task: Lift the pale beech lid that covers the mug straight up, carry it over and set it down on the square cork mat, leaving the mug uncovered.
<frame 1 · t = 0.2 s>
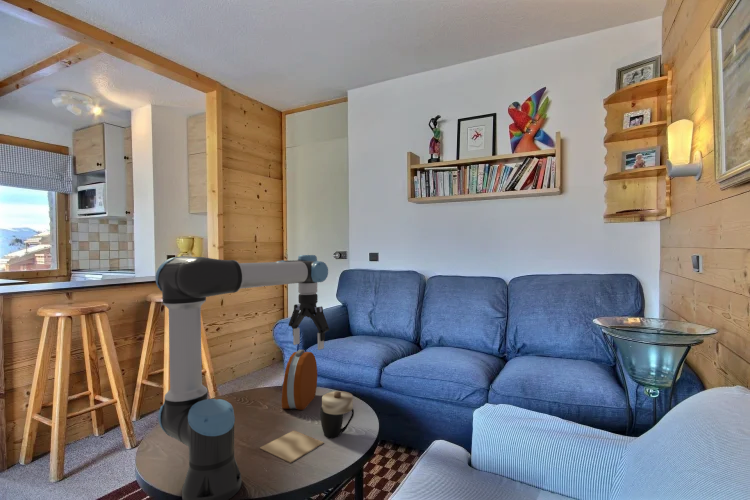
hand: (308, 346, 153), 28 cm above the table, fingers open, 13 cm apart
mug: (337, 434, 138), on the table, touching lid
alarm clock: (298, 402, 167), on the table
lid: (337, 407, 138), point 9 cm above the table, touching mug
mat: (292, 446, 130), on the table
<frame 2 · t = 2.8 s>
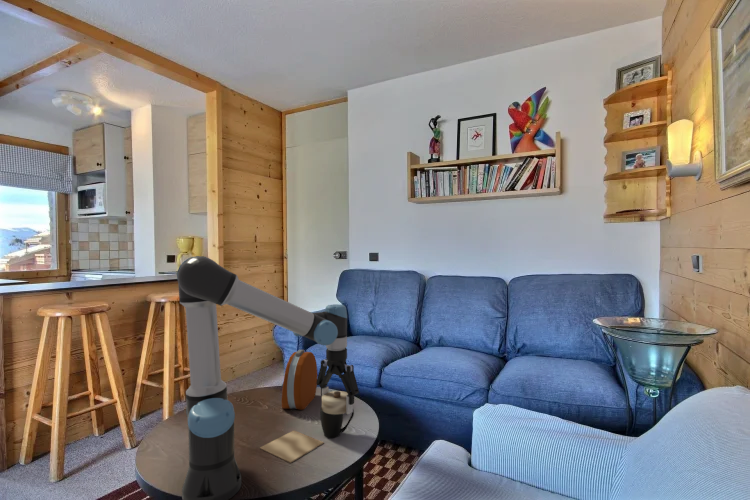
hand: (337, 409, 138), 9 cm above the table, fingers closed on lid, 11 cm apart
mug: (337, 434, 138), on the table, touching gripper, lid
lid: (337, 407, 138), point 10 cm above the table, touching gripper, mug
everything else where it was.
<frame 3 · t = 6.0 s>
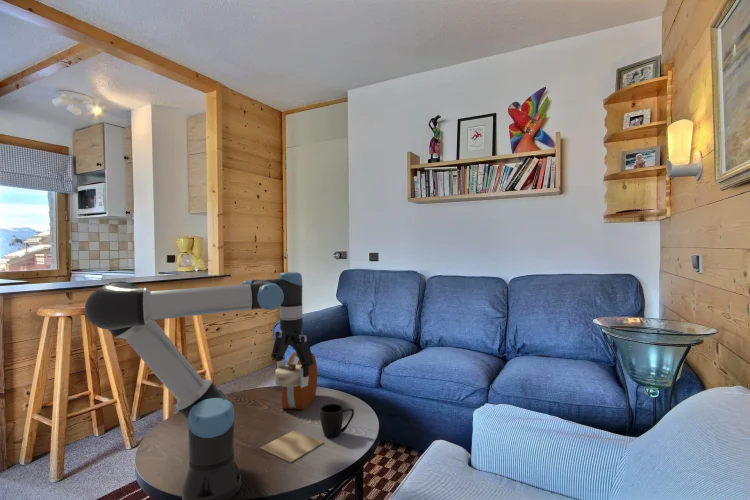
hand: (292, 382, 130), 21 cm above the table, fingers closed on lid, 11 cm apart
mug: (337, 434, 138), on the table
lid: (292, 381, 130), point 22 cm above the table, touching gripper
everything else where it was.
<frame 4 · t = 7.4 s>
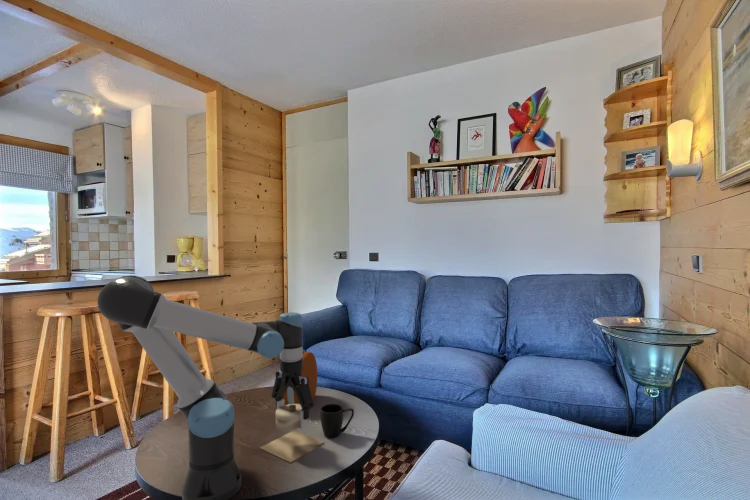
hand: (292, 423, 130), 8 cm above the table, fingers closed on lid, 11 cm apart
lid: (292, 422, 130), point 8 cm above the table, touching gripper
everything else where it was.
when the fingers open (2 cm above the table, at t = 8.8 s): lid drops 3 cm, resting on mat.
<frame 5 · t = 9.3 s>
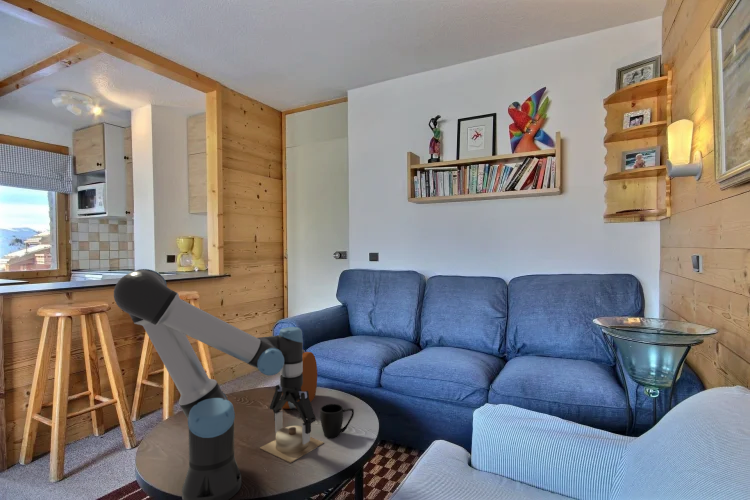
hand: (292, 436, 130), 3 cm above the table, fingers open, 13 cm apart
lid: (292, 444, 130), resting on mat
everything else where it was.
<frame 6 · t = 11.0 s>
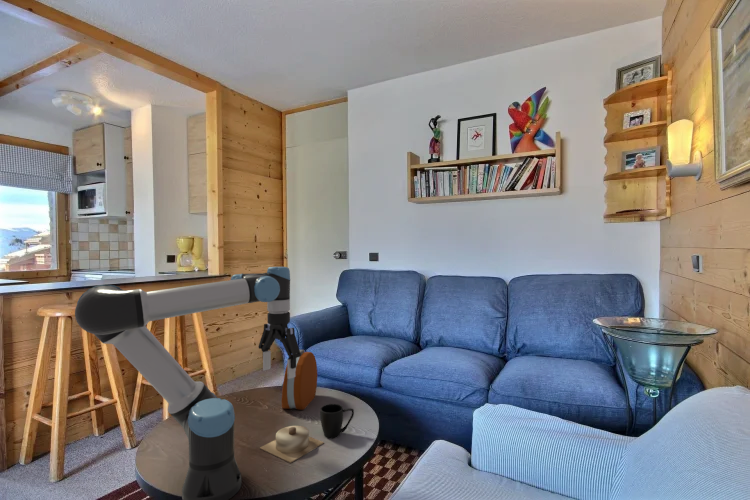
hand: (278, 373, 132), 24 cm above the table, fingers open, 13 cm apart
nothing on the table moved.
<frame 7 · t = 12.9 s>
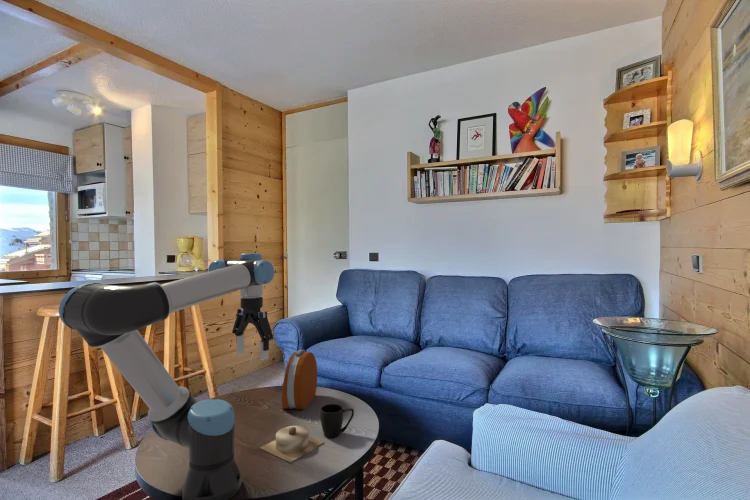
hand: (252, 356, 136), 29 cm above the table, fingers open, 13 cm apart
nothing on the table moved.
at the end: lid inside the target area on the mat (0.1 cm from its centre), point 0.4 cm above the mat's base; lid tilted 0°; mug moved 0.2 cm from its start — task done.
